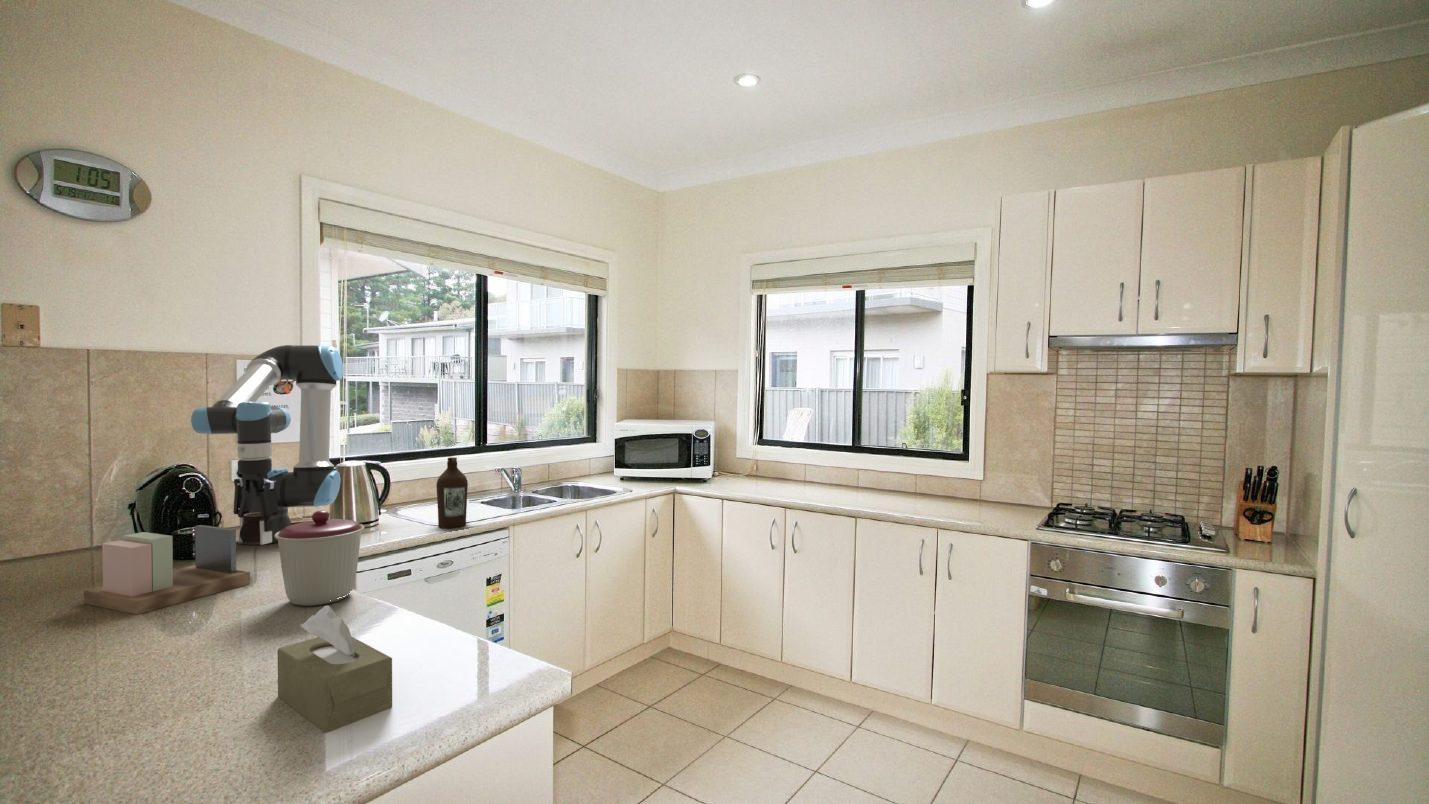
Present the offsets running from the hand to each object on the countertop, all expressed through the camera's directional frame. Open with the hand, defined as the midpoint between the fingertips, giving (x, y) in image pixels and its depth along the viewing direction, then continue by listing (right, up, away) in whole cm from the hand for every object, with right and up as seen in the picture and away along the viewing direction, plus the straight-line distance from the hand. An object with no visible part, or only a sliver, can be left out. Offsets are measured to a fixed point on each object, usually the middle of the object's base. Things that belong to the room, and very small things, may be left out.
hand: (256, 541), depth 174 cm
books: (-9, -5, -25) cm, 28 cm away
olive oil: (+29, -7, +59) cm, 66 cm away
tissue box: (+65, -10, -72) cm, 98 cm away
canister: (+32, -9, -23) cm, 40 cm away
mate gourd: (0, 0, 0) cm, 0 cm away
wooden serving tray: (-7, -8, -19) cm, 22 cm away
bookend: (-3, -5, -10) cm, 12 cm away
